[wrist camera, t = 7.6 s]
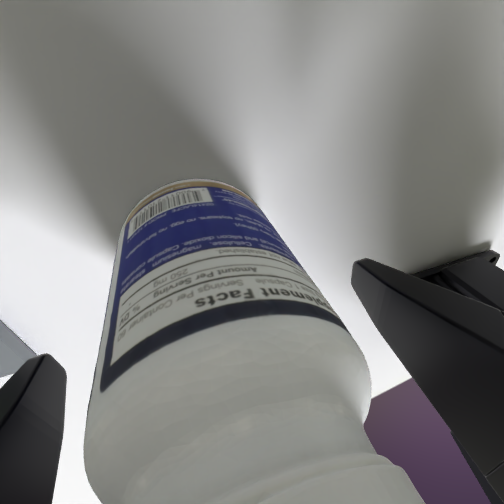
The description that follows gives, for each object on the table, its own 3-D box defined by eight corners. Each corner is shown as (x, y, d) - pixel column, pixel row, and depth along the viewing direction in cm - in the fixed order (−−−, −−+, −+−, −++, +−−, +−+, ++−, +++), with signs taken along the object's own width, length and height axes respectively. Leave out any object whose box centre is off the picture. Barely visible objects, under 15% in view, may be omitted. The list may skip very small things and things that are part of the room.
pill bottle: (231, 304, 14) (335, 638, 6) (104, 283, 11) (-24, 848, 3) (289, 203, 11) (594, 532, 3) (145, 145, 9) (43, 1021, 1)
